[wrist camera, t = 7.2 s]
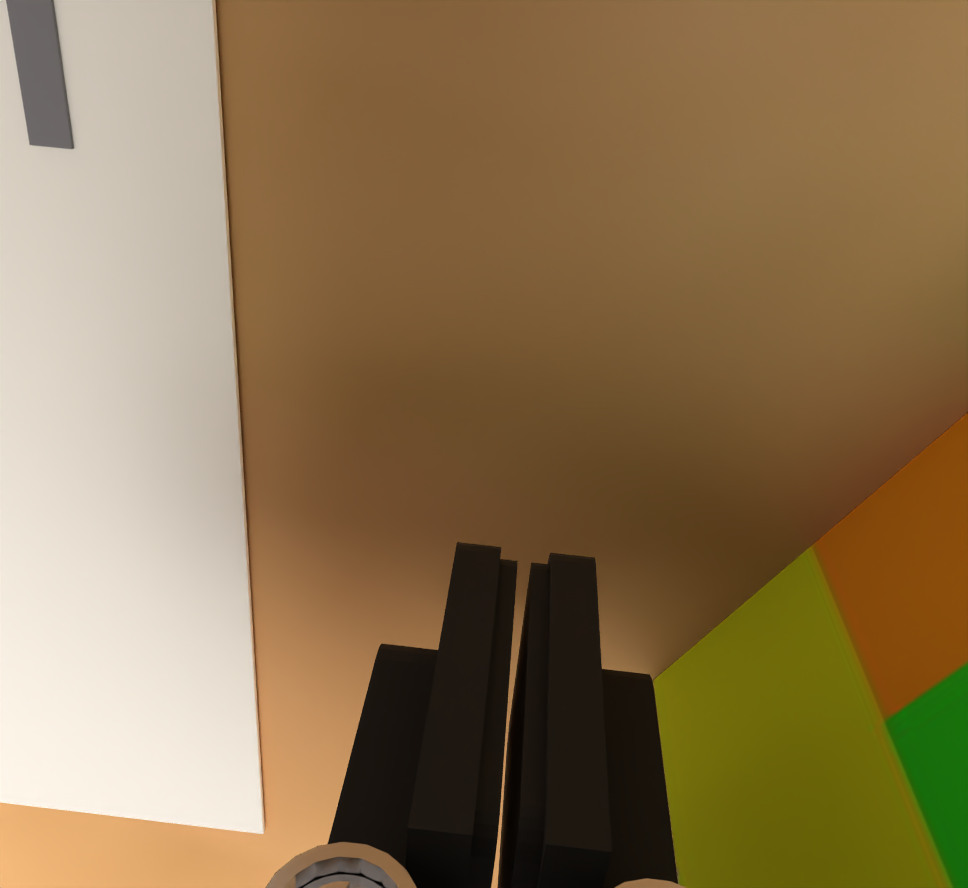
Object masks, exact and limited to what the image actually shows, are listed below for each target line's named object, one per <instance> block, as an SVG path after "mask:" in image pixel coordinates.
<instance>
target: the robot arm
mask: <svg viewBox="0 0 968 888" xmlns="http://www.w3.org/2000/svg"><path fill="white" fill-rule="evenodd" d="M500 554H501V547H494V546H485V545H476V544H467V543H459V542H457V546H456V551H455V557H454V563H453V569H452V574H451V580H450V586H449V592H448V598H447V603H446V609H445V615H444V621H443V626H442V632H441V638H440V644H439V650H432V649H423V648H414V647H406V646H397V645H388V644H381V645H380V647H379V649H378V653H377V656H376V660H375V663H374V667H373V671H372V675H371V679H370V683H369V687H368V691H367V694H366V698H365V702H364V706H363V710H362V714H361V718H360V722H359V725H358V729H357V733H356V737H355V741H354V745H353V749H352V753H351V756H350V760H349V764H348V768H347V772H346V776H345V780H344V784H343V787H342V791H341V795H340V799H339V803H338V807H337V811H336V815H335V818H334V822H333V826H332V830H331V834H330V838H329V842H328V844H326V845H320V846H317V847H315V848H312V849H310V850H308V851H306V852H304V853H301V854H299V855H297V856H295V857H294V858H293V859H291V860H290V861H289V862H288V863H287V864H285V865H284V866H283V867H282V868H281V869H279V870H278V871H277V872H276V873H275V874H274V876H273V877H272V879H271V880H270V882H269V883H268V885H267V886H266V888H491V883H492V876H493V869H494V862H495V854H496V845H497V836H498V826H499V815H500V802H501V788H502V774H503V760H504V746H505V732H506V718H507V703H508V689H509V675H510V661H511V647H512V633H513V618H514V604H515V590H516V576H517V561H512V560H503V559H500ZM498 888H686V887H683V886H681V885H679V884H678V879H677V871H676V863H675V854H674V846H673V838H672V830H671V822H670V814H669V806H668V798H667V790H666V781H665V773H664V765H663V757H662V749H661V741H660V733H659V725H658V717H657V708H656V700H655V692H654V686H653V681H652V678H651V676H650V675H649V674H640V673H632V672H623V671H614V670H605V669H602V668H601V650H600V631H599V613H598V595H597V577H596V562H595V558H593V557H584V556H575V555H566V554H557V553H550V555H549V559H548V564H539V563H531V568H530V575H529V582H528V589H527V597H526V604H525V612H524V619H523V626H522V634H521V641H520V649H519V656H518V663H517V671H516V678H515V686H514V693H513V700H512V708H511V715H510V723H509V732H508V743H507V756H506V771H505V786H504V800H503V815H502V830H501V845H500V860H499V875H498Z"/></svg>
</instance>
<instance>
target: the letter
mask: <svg viewBox="0 0 968 888" xmlns="http://www.w3.org/2000/svg"><path fill="white" fill-rule="evenodd" d="M0 802H2V803H10V804H18V805H27V806H35V807H43V808H51V809H60V810H68V811H76V812H85V813H93V814H101V815H109V816H118V817H126V818H134V819H143V820H151V821H159V822H168V823H176V824H184V825H192V826H201V827H209V828H217V829H226V830H234V831H242V832H250V833H259V834H264V831H265V822H264V806H263V789H262V772H261V756H260V739H259V722H258V705H257V689H256V672H255V655H254V639H253V622H252V605H251V588H250V572H249V555H248V538H247V522H246V505H245V488H244V471H243V455H242V438H241V421H240V405H239V388H238V371H237V354H236V338H235V321H234V304H233V288H232V271H231V254H230V237H229V221H228V204H227V187H226V171H225V154H224V137H223V120H222V104H221V87H220V70H219V54H218V37H217V20H216V3H215V0H0Z"/></svg>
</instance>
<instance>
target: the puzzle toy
mask: <svg viewBox="0 0 968 888" xmlns="http://www.w3.org/2000/svg"><path fill="white" fill-rule="evenodd" d="M653 683H654V691H655V700H656V708H657V716H658V724H659V732H660V740H661V748H662V756H663V764H664V772H665V780H666V788H667V796H668V804H669V812H670V820H671V828H672V836H673V844H674V852H675V860H676V868H677V876H678V884H679V885H681V886H683V887H686V888H968V413H967V414H965V415H964V416H963V417H962V418H961V419H960V420H958V421H957V422H956V423H955V424H954V425H952V426H951V427H950V428H949V429H948V430H947V431H945V432H944V433H943V434H942V435H941V436H940V437H938V438H937V439H936V440H935V441H934V442H933V443H931V444H930V445H929V446H928V447H927V448H925V449H924V450H923V451H922V452H921V453H920V454H918V455H917V456H916V457H915V458H914V459H913V460H911V461H910V462H909V463H908V464H907V465H906V466H904V467H903V468H902V469H901V470H900V471H898V472H897V473H896V474H895V475H894V476H893V477H891V478H890V479H889V480H888V481H887V482H886V483H884V484H883V485H882V486H881V487H880V488H879V489H877V490H876V491H875V492H874V493H873V494H871V495H870V496H869V497H868V498H867V499H866V500H864V501H863V502H862V503H861V504H860V505H859V506H857V507H856V508H855V509H854V510H853V511H851V512H850V513H849V514H848V515H847V516H846V517H844V518H843V519H842V520H841V521H840V522H839V523H837V524H836V525H835V526H834V527H833V528H832V529H830V530H829V531H828V532H827V533H826V534H824V535H823V536H822V537H821V538H820V539H819V540H817V541H816V542H815V543H814V544H813V545H812V546H810V547H809V548H808V549H807V550H806V551H805V552H803V553H802V554H801V555H800V556H799V557H797V558H796V559H795V560H794V561H793V562H792V563H790V564H789V565H788V566H787V567H786V568H785V569H783V570H782V571H781V572H780V573H779V574H778V575H776V576H775V577H774V578H773V579H772V580H770V581H769V582H768V583H767V584H766V585H765V586H763V587H762V588H761V589H760V590H759V591H758V592H756V593H755V594H754V595H753V596H752V597H751V598H749V599H748V600H747V601H746V602H745V603H743V604H742V605H741V606H740V607H739V608H738V609H736V610H735V611H734V612H733V613H732V614H731V615H729V616H728V617H727V618H726V619H725V620H723V621H722V622H721V623H720V624H719V625H718V626H716V627H715V628H714V629H713V630H712V631H711V632H709V633H708V634H707V635H706V636H705V637H704V638H702V639H701V640H700V641H699V642H698V643H696V644H695V645H694V646H693V647H692V648H691V649H689V650H688V651H687V652H686V653H685V654H684V655H682V656H681V657H680V658H679V659H678V660H677V661H675V662H674V663H673V664H672V665H671V666H669V667H668V668H667V669H666V670H665V671H664V672H662V673H661V674H660V675H659V676H658V677H657V678H655V679H654V680H653Z"/></svg>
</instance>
